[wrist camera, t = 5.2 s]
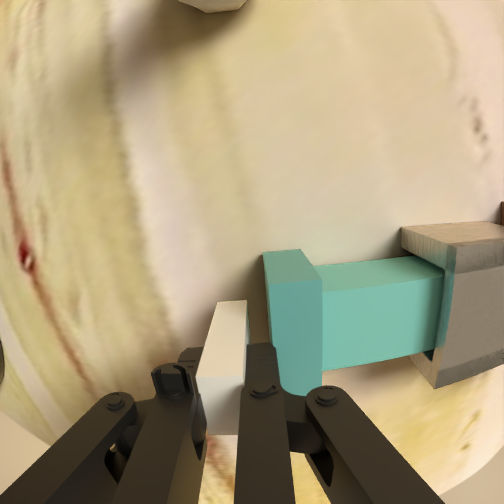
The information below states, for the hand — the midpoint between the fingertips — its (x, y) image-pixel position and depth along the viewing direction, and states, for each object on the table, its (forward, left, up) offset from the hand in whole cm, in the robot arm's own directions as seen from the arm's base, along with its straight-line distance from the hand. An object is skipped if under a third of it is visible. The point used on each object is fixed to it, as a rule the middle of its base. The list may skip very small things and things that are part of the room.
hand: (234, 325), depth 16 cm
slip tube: (+9, 0, -2) cm, 9 cm away
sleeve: (+13, 0, -2) cm, 13 cm away
